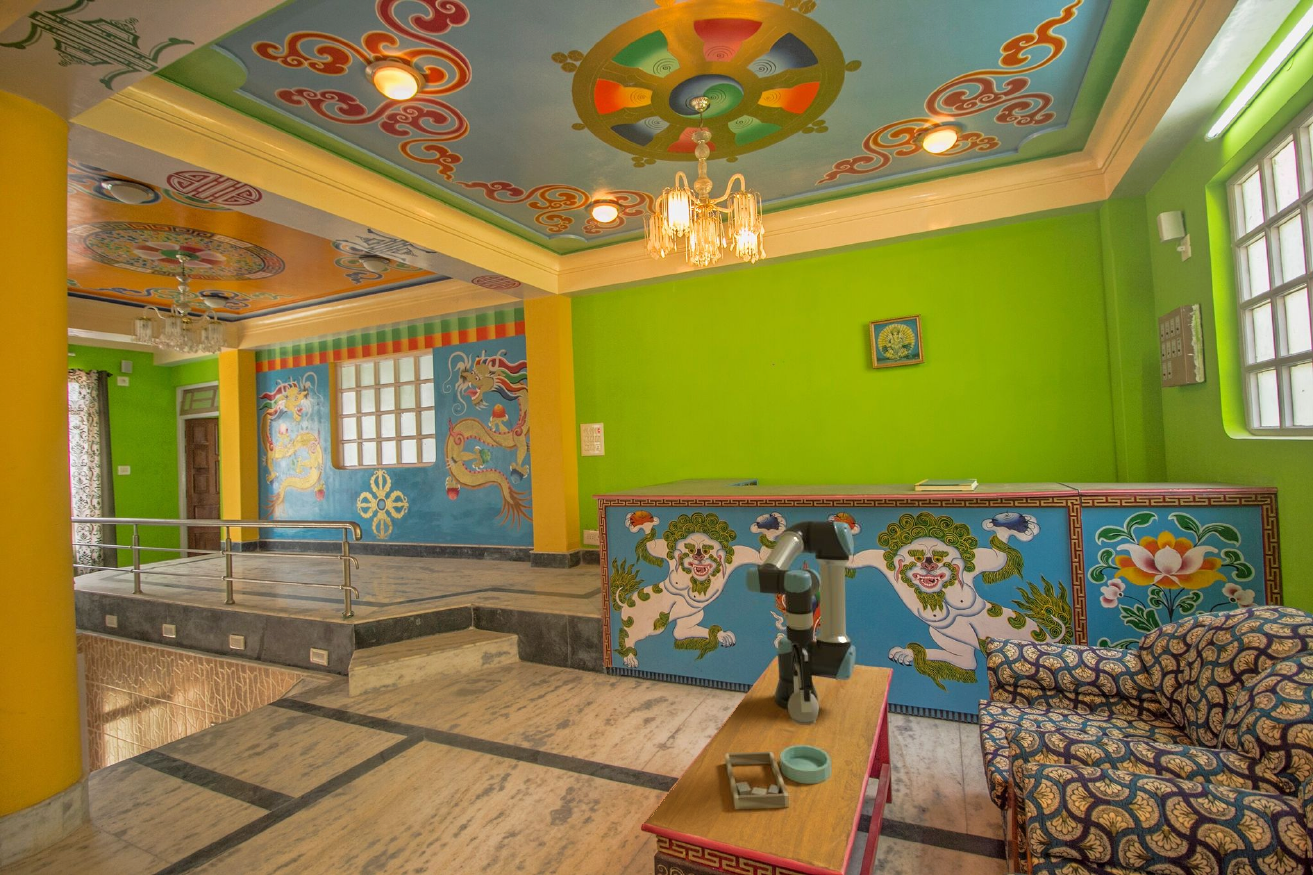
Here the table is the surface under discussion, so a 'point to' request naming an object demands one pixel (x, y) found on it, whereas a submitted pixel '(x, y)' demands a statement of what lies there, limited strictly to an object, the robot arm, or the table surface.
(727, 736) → the table surface
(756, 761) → the tray
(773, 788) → the pebble
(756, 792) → the pebble
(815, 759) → the bowl
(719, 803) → the table surface
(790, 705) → the potion bottle
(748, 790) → the grey block
